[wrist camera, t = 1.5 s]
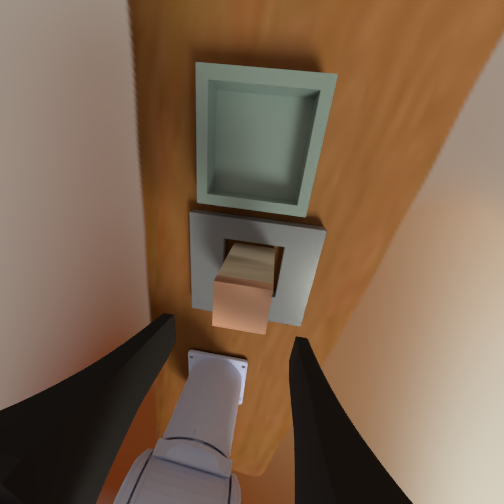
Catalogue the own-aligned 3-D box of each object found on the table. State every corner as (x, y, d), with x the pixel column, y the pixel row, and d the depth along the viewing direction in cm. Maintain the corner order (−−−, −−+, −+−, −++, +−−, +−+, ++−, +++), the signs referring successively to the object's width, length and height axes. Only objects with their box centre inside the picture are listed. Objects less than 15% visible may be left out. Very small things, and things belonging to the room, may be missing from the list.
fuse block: (269, 282, 21) (265, 334, 15) (232, 277, 21) (212, 325, 15) (274, 248, 19) (273, 290, 13) (234, 242, 20) (213, 280, 13)
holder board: (299, 318, 22) (300, 326, 21) (196, 301, 23) (191, 307, 22) (323, 226, 18) (326, 231, 17) (194, 209, 19) (189, 212, 18)
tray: (302, 210, 17) (305, 217, 15) (207, 197, 18) (196, 202, 16) (328, 88, 14) (338, 74, 12) (208, 77, 14) (195, 61, 12)
